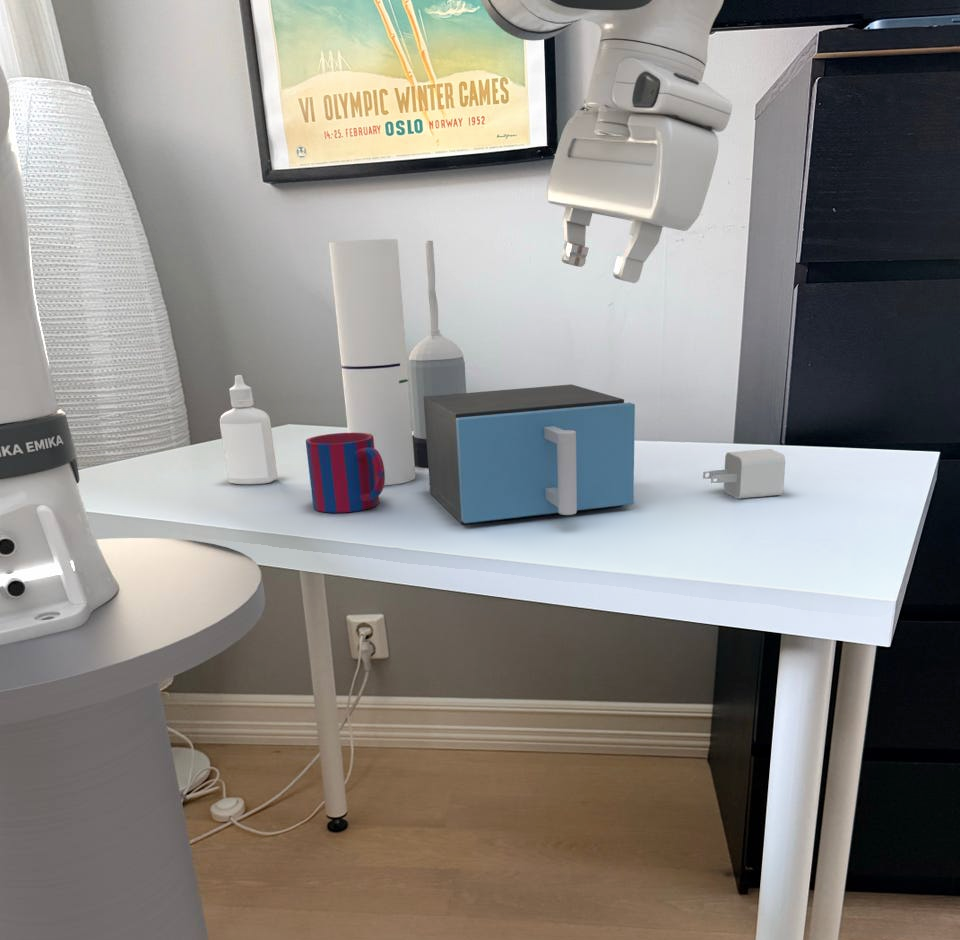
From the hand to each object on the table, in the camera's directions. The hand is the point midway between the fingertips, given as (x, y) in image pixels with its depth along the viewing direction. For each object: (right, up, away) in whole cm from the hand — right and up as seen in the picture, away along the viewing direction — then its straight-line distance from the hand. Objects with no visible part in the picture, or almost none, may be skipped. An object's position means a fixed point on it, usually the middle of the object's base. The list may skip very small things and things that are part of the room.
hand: (597, 272), depth 82 cm
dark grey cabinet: (-6, -18, +11) cm, 23 cm away
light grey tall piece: (-15, -11, +33) cm, 37 cm away
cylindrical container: (-21, -14, +24) cm, 35 cm away
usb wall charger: (+15, -19, +9) cm, 25 cm away
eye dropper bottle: (-37, -14, +26) cm, 47 cm away
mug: (-23, -19, +12) cm, 32 cm away
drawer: (-5, -19, +7) cm, 21 cm away
